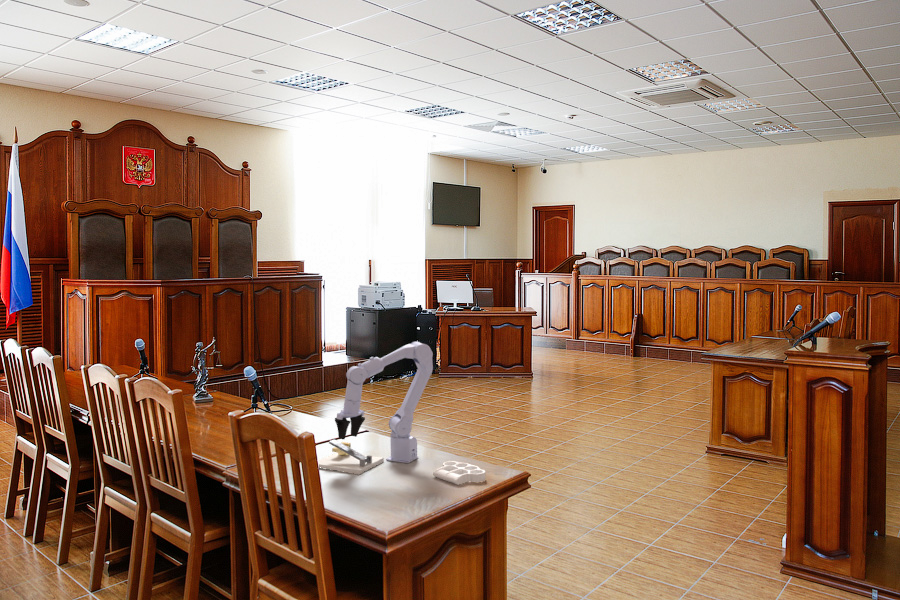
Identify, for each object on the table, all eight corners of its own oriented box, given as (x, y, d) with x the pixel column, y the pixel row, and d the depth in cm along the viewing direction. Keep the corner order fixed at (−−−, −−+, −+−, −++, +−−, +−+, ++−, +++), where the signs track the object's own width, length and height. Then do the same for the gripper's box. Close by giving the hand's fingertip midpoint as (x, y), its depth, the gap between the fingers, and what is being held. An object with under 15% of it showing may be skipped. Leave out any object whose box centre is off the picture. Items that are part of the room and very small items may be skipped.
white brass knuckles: (426, 476, 224) (457, 467, 234) (463, 489, 211) (494, 479, 221) (426, 467, 224) (457, 458, 234) (463, 479, 211) (494, 469, 221)
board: (383, 461, 241) (383, 451, 241) (359, 474, 226) (359, 462, 226) (338, 455, 249) (338, 445, 249) (312, 467, 235) (312, 456, 235)
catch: (350, 453, 246) (350, 442, 246) (340, 458, 240) (340, 447, 240) (342, 452, 247) (342, 441, 247) (332, 457, 241) (332, 446, 241)
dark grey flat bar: (369, 461, 234) (370, 458, 234) (364, 464, 231) (365, 460, 231) (333, 441, 240) (334, 438, 240) (328, 443, 238) (329, 440, 237)
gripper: (354, 396, 245) (350, 432, 245) (331, 399, 232) (326, 437, 232) (370, 399, 242) (365, 436, 242) (348, 403, 229) (343, 441, 229)
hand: (347, 437), depth 237 cm, fingers open, 7 cm apart
